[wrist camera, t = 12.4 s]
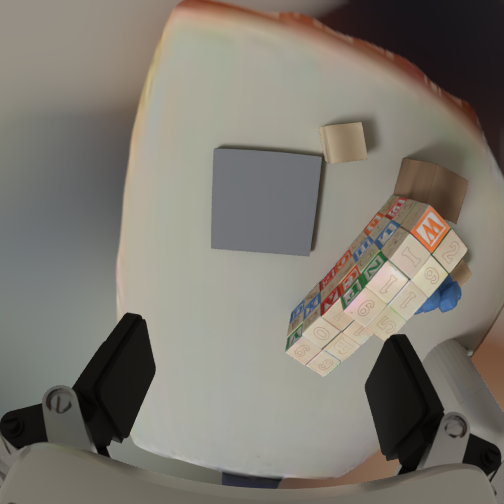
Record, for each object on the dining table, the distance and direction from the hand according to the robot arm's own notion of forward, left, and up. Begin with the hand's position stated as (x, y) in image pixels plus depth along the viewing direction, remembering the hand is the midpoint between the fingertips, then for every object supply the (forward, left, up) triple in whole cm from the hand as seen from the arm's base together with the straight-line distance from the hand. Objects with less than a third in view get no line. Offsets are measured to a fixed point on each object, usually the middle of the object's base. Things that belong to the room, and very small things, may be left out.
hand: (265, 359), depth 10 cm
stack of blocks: (-13, +7, -24) cm, 28 cm away
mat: (+1, -1, -24) cm, 24 cm away
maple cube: (-7, -9, -24) cm, 27 cm away
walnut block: (-18, -5, -24) cm, 31 cm away
